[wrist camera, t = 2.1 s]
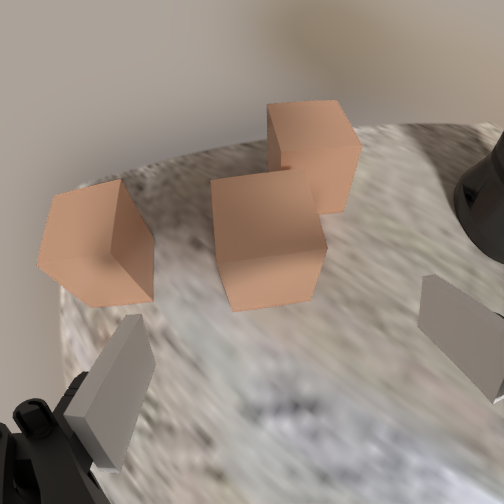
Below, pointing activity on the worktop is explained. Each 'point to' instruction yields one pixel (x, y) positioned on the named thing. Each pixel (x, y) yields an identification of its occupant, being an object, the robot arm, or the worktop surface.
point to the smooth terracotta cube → (267, 238)
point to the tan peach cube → (99, 246)
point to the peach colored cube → (315, 148)
